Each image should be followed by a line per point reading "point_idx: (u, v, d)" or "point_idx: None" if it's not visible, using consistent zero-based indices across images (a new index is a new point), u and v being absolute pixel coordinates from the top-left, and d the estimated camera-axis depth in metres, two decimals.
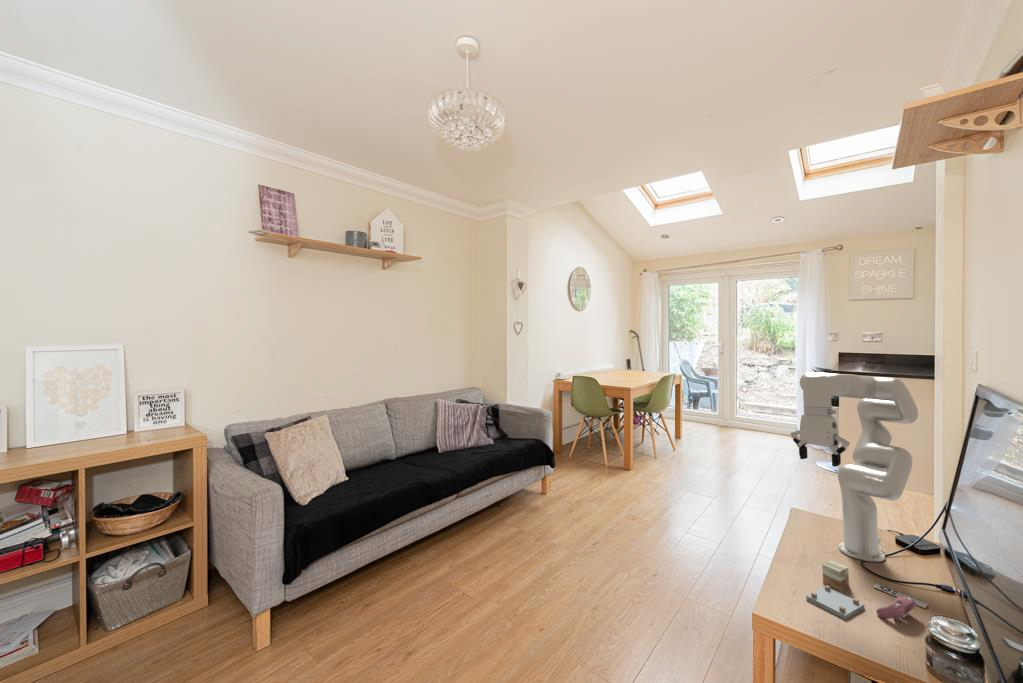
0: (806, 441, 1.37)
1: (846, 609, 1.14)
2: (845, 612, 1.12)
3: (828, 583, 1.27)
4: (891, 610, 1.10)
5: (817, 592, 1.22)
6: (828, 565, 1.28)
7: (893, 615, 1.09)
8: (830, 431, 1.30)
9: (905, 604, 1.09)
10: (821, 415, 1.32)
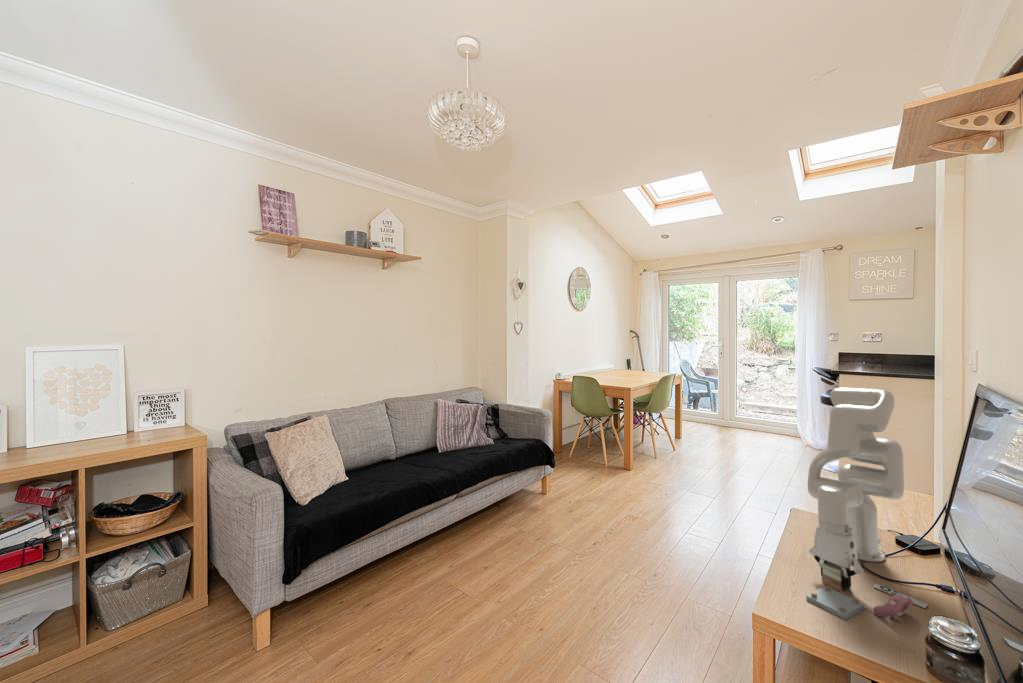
0: (821, 556, 1.29)
1: (846, 609, 1.14)
2: (845, 612, 1.12)
3: (828, 583, 1.27)
4: (887, 609, 1.10)
5: (817, 592, 1.22)
6: (828, 565, 1.28)
7: (889, 613, 1.10)
8: (848, 552, 1.22)
9: (901, 603, 1.10)
10: (838, 533, 1.24)
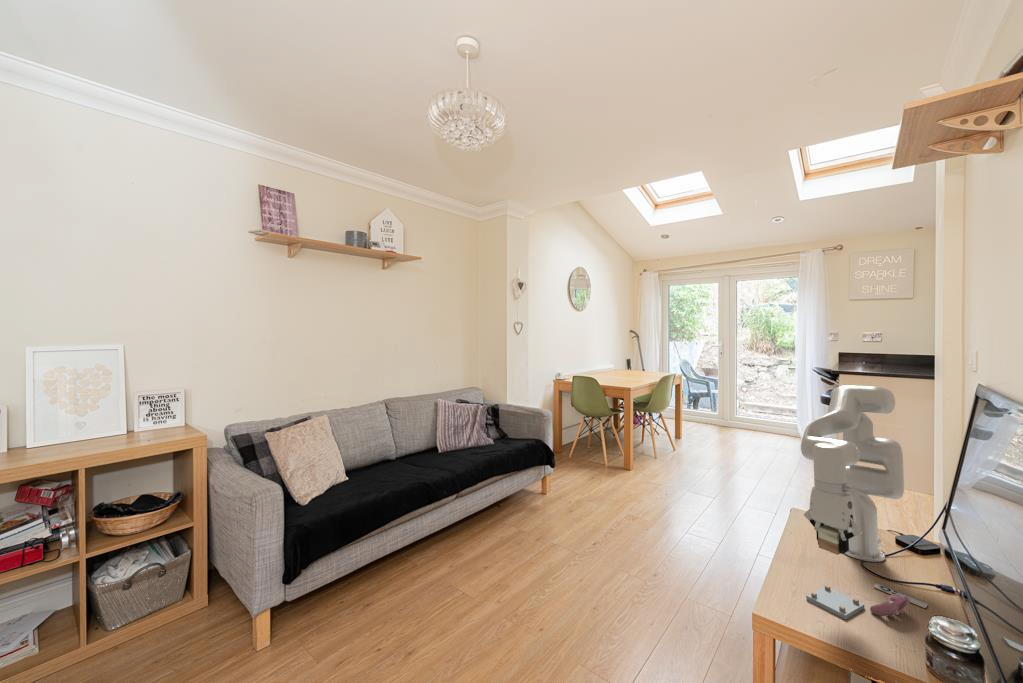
0: (817, 519, 1.20)
1: (846, 609, 1.14)
2: (845, 612, 1.12)
3: (824, 547, 1.18)
4: (884, 608, 1.11)
5: (817, 592, 1.22)
6: (824, 528, 1.19)
7: (887, 612, 1.10)
8: (845, 512, 1.13)
9: (899, 601, 1.10)
10: (835, 493, 1.15)
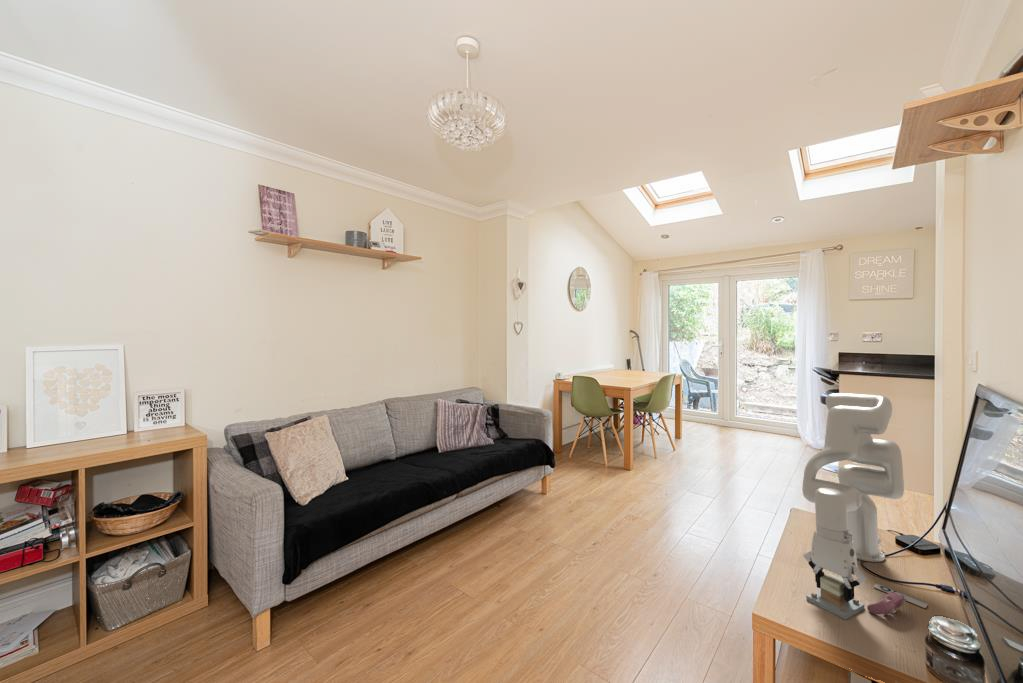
0: (819, 565, 1.20)
1: (846, 609, 1.14)
2: (845, 612, 1.12)
3: (826, 598, 1.18)
4: (881, 606, 1.11)
5: (817, 592, 1.22)
6: (826, 578, 1.18)
7: (883, 611, 1.11)
8: (847, 560, 1.13)
9: (895, 600, 1.11)
10: (837, 540, 1.15)
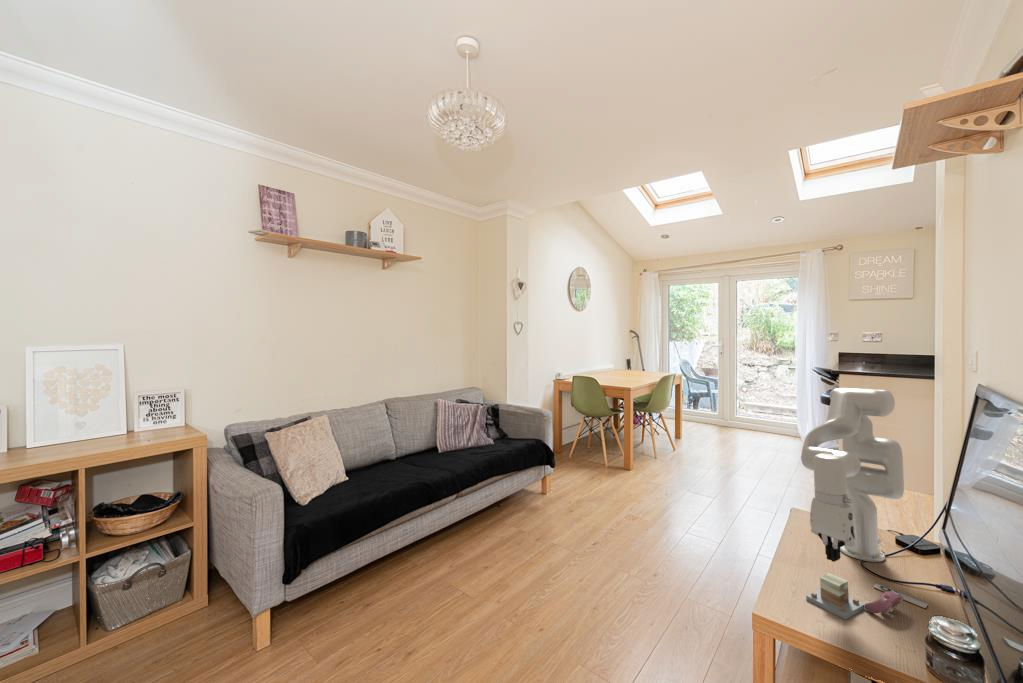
0: (818, 530, 1.20)
1: (846, 609, 1.14)
2: (845, 612, 1.12)
3: (826, 598, 1.18)
4: (878, 605, 1.12)
5: (817, 592, 1.22)
6: (826, 578, 1.18)
7: (881, 610, 1.12)
8: (846, 524, 1.13)
9: (892, 599, 1.12)
10: (835, 504, 1.15)
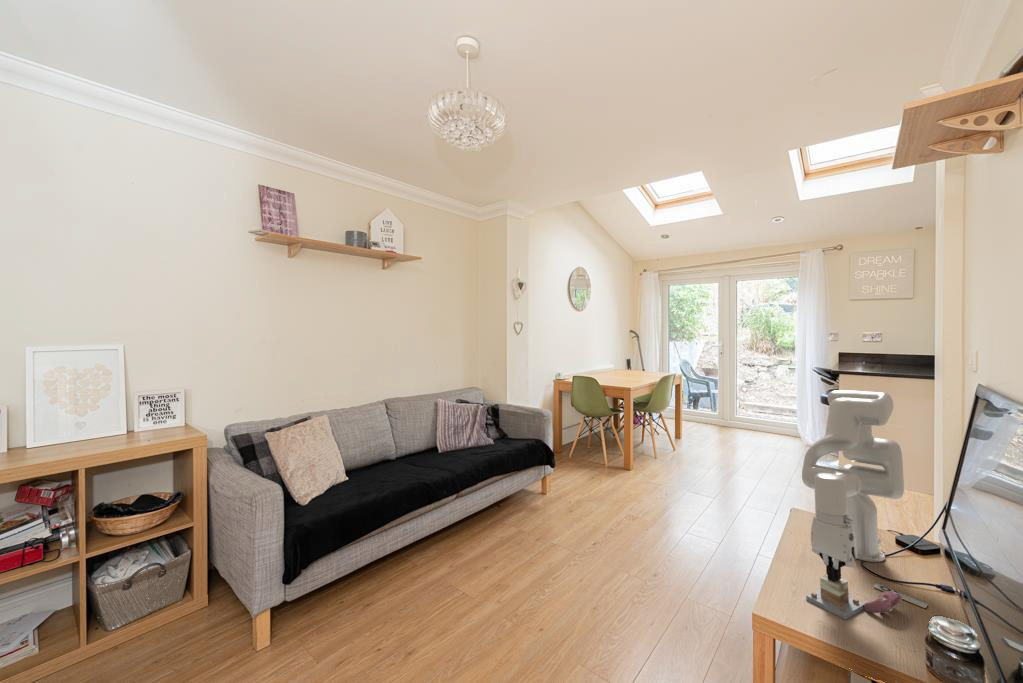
0: (818, 550, 1.20)
1: (846, 609, 1.14)
2: (845, 612, 1.12)
3: (826, 598, 1.18)
4: (877, 605, 1.12)
5: (817, 592, 1.22)
6: (826, 578, 1.18)
7: (880, 609, 1.12)
8: (847, 544, 1.13)
9: (891, 598, 1.12)
10: (836, 525, 1.15)
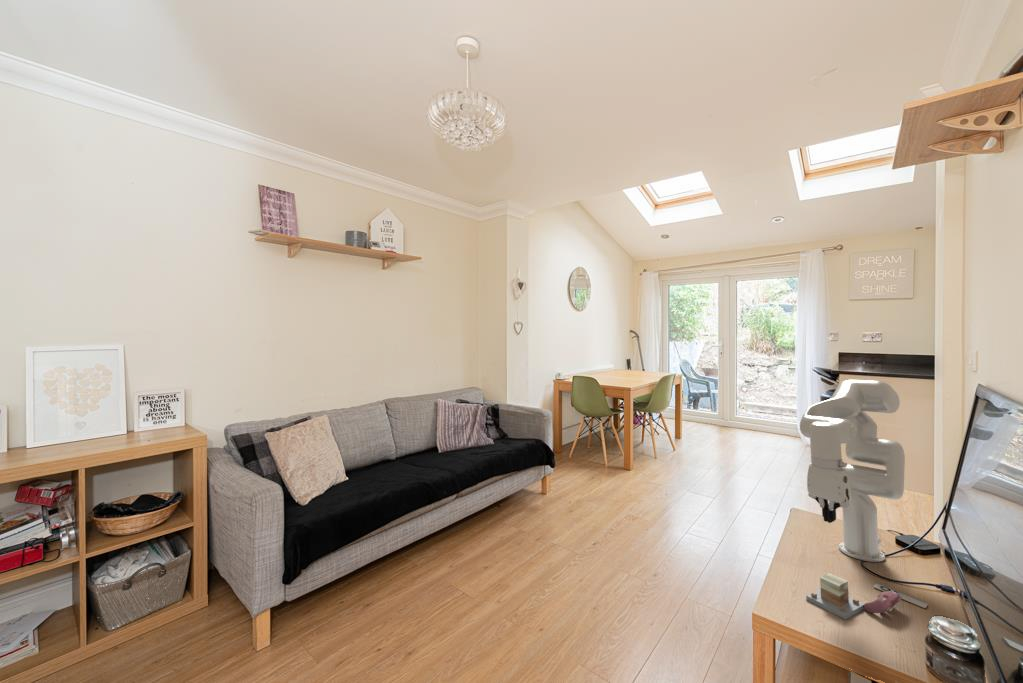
0: (814, 494, 1.26)
1: (846, 609, 1.14)
2: (845, 612, 1.12)
3: (826, 598, 1.18)
4: (877, 605, 1.12)
5: (817, 592, 1.22)
6: (826, 578, 1.18)
7: (880, 609, 1.12)
8: (841, 486, 1.19)
9: (891, 598, 1.12)
10: (831, 468, 1.21)
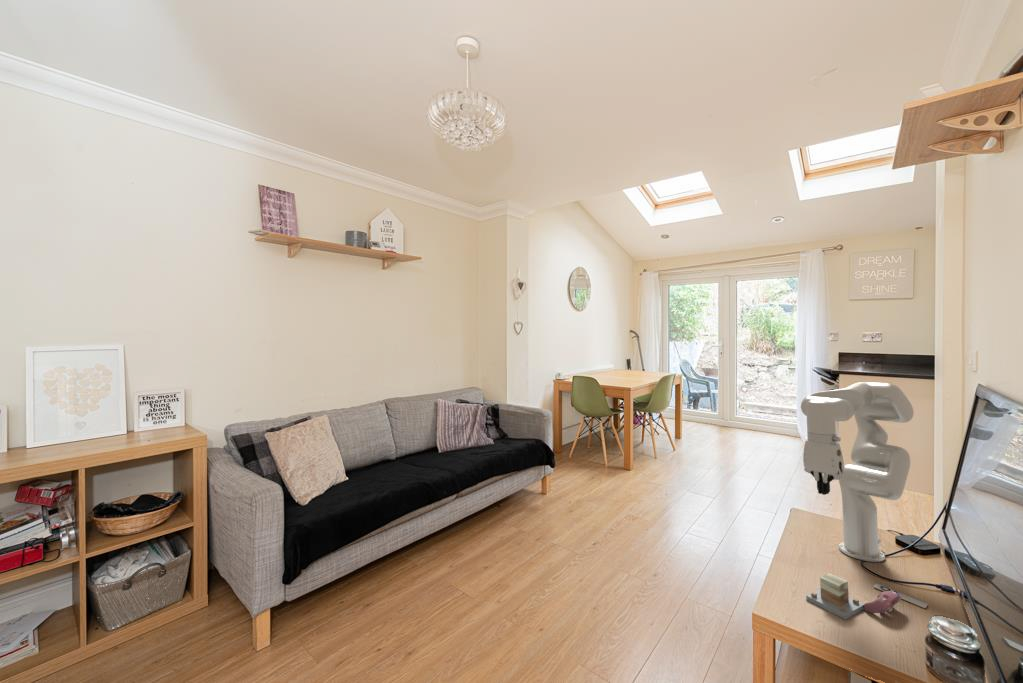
0: (810, 468, 1.34)
1: (846, 609, 1.14)
2: (845, 612, 1.12)
3: (826, 598, 1.18)
4: (877, 605, 1.12)
5: (817, 592, 1.22)
6: (826, 578, 1.18)
7: (880, 609, 1.12)
8: (834, 459, 1.28)
9: (891, 598, 1.12)
10: (825, 442, 1.29)
